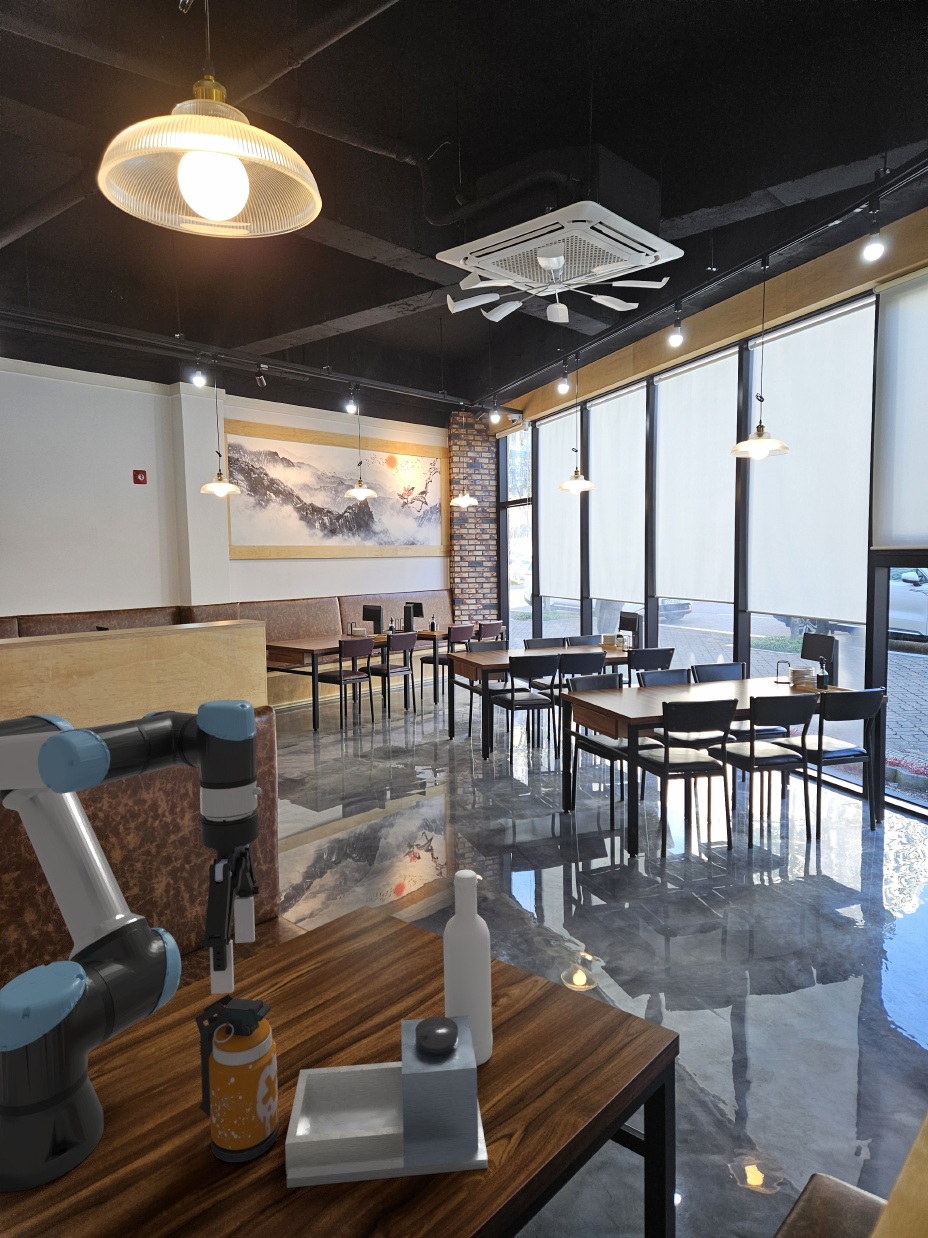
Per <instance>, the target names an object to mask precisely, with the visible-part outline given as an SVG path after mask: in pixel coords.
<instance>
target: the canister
mask: <svg viewBox="0 0 928 1238" xmlns="http://www.w3.org/2000/svg"><path fill="white" fill-rule="evenodd" d="M271 1007H272V1006H270V1005H269V1004H267V1003H265V1004H264V1001H263V999H258V998H257V999H256V1000H253V999H244V998H236V997H233V996H231V995H230V993H229V994H226V995H224V996H223V997H221V998H219V999H218V1000H216V1001H215V1002H213V1003H211V1004H209V1005H208V1006H205V1007H204V1008H203V1013H201V1014H199V1015H197V1016H195V1017H194V1021H195V1023H196V1026H197V1029H198V1032H199V1035H200V1036H199V1037H200V1039H199V1040H200V1041H199V1052H200V1053H199V1054H200V1066H201V1067H200V1069H201V1070H200V1071H201V1072H200V1074H201V1075H200V1076H201V1103H200V1104H199V1106H198V1108H199V1109H200V1110H201V1111H203V1112H204V1113H205V1114H206V1115H207V1116H208V1117H210V1143H211V1144H210V1148H211V1151H212V1153H213V1154H214V1156H215V1157H216V1158H218V1159H219V1160H221V1161H223V1162H230V1163H240V1162H245V1161H248V1160H252V1159H255V1158H257V1157H259V1156H261V1155H262V1154H263V1153H265V1152H266V1151H268V1149H270V1148H271V1146H273V1145H274V1142H276V1140H277V1138H278V1134H279V1102H278V1100H279V1099H278V1097H279V1096H278V1095H279V1094H278V1065H277V1064H278V1062H277V1043H276V1040H275V1039H274V1038H273V1032H272V1030H273V1029H272V1026H271V1025H270V1024H269V1021H268V1020H267V1019H266V1018H265V1017H266V1016H267V1014H268V1013H269V1012H271ZM206 1021H207V1023H208V1024H207V1025H206V1024H205V1022H206Z"/></svg>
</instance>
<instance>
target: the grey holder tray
mask: <svg viewBox="0 0 928 1238" xmlns="http://www.w3.org/2000/svg"><path fill="white" fill-rule="evenodd" d="M400 1022H401V1023H400V1024H401V1033H400V1034H401V1036H400V1037H401V1061H392V1062H391V1061H390V1062H389V1061H388V1062H381V1063H380V1062H378V1063H367V1064H365V1063H364V1064H356V1065H343V1066H330V1067H320V1068H319V1067H318V1068H306V1069H300V1070H299V1075H298V1080H297V1084H296V1088H295V1089H296V1090H295V1094H294V1099H293V1105H292V1109H291V1115H290V1118H289V1124H288V1129H287V1133H286V1139H285V1144H284V1145H285V1147H284V1148H285V1175H286V1188H287V1189H288V1188H289V1189H291V1188H300V1187H307V1186H308V1187H309V1186H319V1185H321V1186H322V1185H331V1184H339V1183H349V1182H351V1183H352V1182H361V1181H369V1180H370V1181H373V1180H380V1179H381V1180H382V1179H389V1178H390V1179H391V1178H402V1177H409V1176H410V1177H411V1176H420V1175H421V1176H423V1175H431V1174H441V1173H442V1174H443V1173H450V1172H451V1173H452V1172H461V1171H474V1170H481V1169H488V1168H489V1160H488V1152H487V1147H486V1141H485V1136H484V1128H483V1121H482V1115H481V1111H480V1110H481V1109H480V1105H479V1099H478V1097H479V1096H478V1070H477V1069H478V1068H477V1067H478V1066H476V1060H475V1055H474V1049H473V1043H472V1037H471V1032H470V1026H469V1020H468V1015H467V1016H454V1017H445V1016H431V1017H426V1018H417V1019H406V1020H405V1019H403V1020H402V1019H401V1021H400Z"/></svg>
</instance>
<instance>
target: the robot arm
mask: <svg viewBox="0 0 928 1238" xmlns="http://www.w3.org/2000/svg"><path fill="white" fill-rule="evenodd" d="M257 730H258V729H257V727H256V717H255V709H254V706H253V704H252V703H251V702H250V701H248V700H244V699H220V700H211V701H206V702H203V703H202V704H200V705H199V706H198V708H197V713H194V712H193V713H192V712H183V711H181V712H180V711H175V710H170V709H169V710H165V711H164V710H161V711H153V712H149V713H146V714H145V715H144V716H143V717H141V718H136V719H131V720H126V721H122V722H117V723H116V722H115V723H111V724H109V723H108V724H104V725H98V726H91V727H90V726H89V727H83V728H82V727H81V728H75V727H74V726H73V725H72V723H70V722H69V721H68V720H67V719H66V718H63V717H62V716H59V715H56V714H30V715H25V716H22V717H18V718H11V719H10V718H9V719H4V720H0V801H1V804H2V806H3V807H4V809H8V810H12V811H16V812H18V815H19V817H20V819H21V822H22V825H23V826H24V829H25V831H26V834H27V836H28V839H29V841H30V843H31V845H32V847H33V850H34V853H35V854H36V857H37V859H38V862H39V864H40V866H41V868H42V871H43V873H44V876H45V878H46V881H47V883H48V885H49V887H50V889H51V892H52V895H53V897H54V899H55V902H56V903H57V906H58V908H59V910H60V913H61V915H62V918H63V920H64V923H65V924H66V927H67V930H68V932H69V934H70V936H71V939H72V941H73V948H72V950H71V952H70V955H69V957H68V960H60V961H53V962H51V963H50V964H48V965H44V964H42V965H38V966H36V967H34V968H31V969H29V970H27V971H25V972H23V973H21V974H19V975H17V976H16V977H14V978H13V979H12V980H10V981H9V982H8V983H6V984H5V985H4V986H3V987H2V988H1V989H0V1192H2V1193H4V1192H5V1193H12V1192H20V1191H25V1190H29V1189H33V1188H36V1187H38V1186H42V1185H45V1184H47V1183H50V1182H52V1181H53V1180H55V1179H58V1178H59V1177H61V1176H63V1175H65V1174H67V1173H68V1172H70V1171H71V1170H73V1169H74V1168H76V1167H77V1166H78V1165H80V1164H81V1163H82V1162H83V1161H84V1160H85V1159H86V1158H88V1157H89V1156H90V1154H91V1153H92V1152H93V1151H94V1150H95V1148H97V1146H98V1144H99V1142H100V1141H101V1138H102V1136H103V1133H104V1124H105V1121H104V1109H103V1107H102V1104H101V1102H100V1100H99V1098H98V1095H97V1093H96V1091H95V1088H94V1086H93V1084H92V1082H91V1080H90V1077H89V1067H88V1066H89V1065H88V1064H89V1063H88V1062H89V1061H88V1054H89V1053H90V1051H92V1050H94V1049H95V1048H97V1047H99V1046H100V1045H101V1044H103V1043H105V1042H107V1041H109V1040H110V1039H112V1038H114V1037H115V1036H117V1035H119V1034H120V1033H122V1032H124V1031H125V1030H126V1029H127V1030H128V1029H129V1028H130V1027H132V1026H133V1025H135V1024H137V1023H138V1022H140V1021H141V1020H144V1019H146V1018H148V1017H150V1016H152V1015H153V1014H154V1013H156V1011H157V1010H159V1009H160V1008H162V1007H163V1006H164V1005H166V1004H168V1003H169V1002H170V1000H172V998H173V997H174V996H175V994H176V992H177V990H178V989H179V986H180V977H181V974H182V960H181V953H180V950H179V947H178V943H177V942H176V940H175V938H174V937H173V935H172V934H171V933H170V932H169V931H166V929H165V928H162V927H150V925H149V923H148V921H147V918H146V917H145V916H144V915H139V914H136V913H133V912H131V910H130V908H129V906H128V903H127V901H126V898H125V897H124V894H123V892H122V890H121V888H120V886H119V883H118V881H117V879H116V877H115V875H114V873H113V870H112V869H111V866H110V864H109V862H108V860H107V857H106V855H105V853H104V851H103V849H102V847H101V845H100V842H99V840H98V838H97V837H98V836H96V833H95V831H94V829H93V827H92V824H91V823H90V821H89V818H88V816H87V813H86V812H85V810H84V807H83V805H82V803H81V800H80V798H79V797H78V794H77V792H83V791H88V790H91V789H93V788H96V787H98V786H103V785H107V784H109V783H114V782H117V781H120V780H124V779H125V780H126V779H127V778H134V777H137V776H142V775H145V774H150V773H153V772H158V771H162V770H164V769H169V768H173V767H185V768H186V767H188V768H193V769H194V768H196V769H199V798H200V799H199V804H200V806H199V807H200V808H199V809H200V814H201V815H202V816H203V817H202V818H201V820H200V826H201V827H200V829H201V831H200V832H201V843H202V844H203V846H204V847H206V848H208V849H213V850H215V851H216V858H214V859H213V863H211V864H209V867H208V874H209V877H208V879H209V880H208V881H209V883H208V884H209V885H208V895H207V896H208V898H207V906H206V907H207V908H206V921H205V934H204V939H202V941H201V946H202V947H204V948H207V949H208V948H209V963H210V964H209V968H210V994H211V995H213V994H214V995H215V994H227V993H229V994H230V993H233V992H234V990H235V980H234V979H235V978H234V977H235V976H234V974H235V973H234V971H235V970H234V945H233V941H235V942H234V943H235V944H240V943H241V944H245V943H254V942H255V941H256V936H255V934H256V933H255V931H256V929H255V925H256V924H255V904H254V903H255V901H254V900H255V899H254V896H256V895H259V894H260V886H256V884H257V881H258V880H257V875H256V870H255V865H254V859H253V853H252V847H251V846H252V845H251V844H252V843H253V842H255V841H256V840H257V839H258V838H259V835H260V833H259V832H260V831H259V830H260V829H259V825H260V824H259V812H257V810H256V809H257V808H258V795H260V794H262V792H263V791H262V788H261V787H259V786H258V787H257V784H258V782H257V779H258V774H257V732H258V731H257ZM236 896H237V897H236ZM233 917H234V940H233V939H231V934H232V933H231V932H232V925H233V924H232V923H233Z"/></svg>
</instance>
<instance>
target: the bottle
mask: <svg viewBox="0 0 928 1238" xmlns="http://www.w3.org/2000/svg"><path fill="white" fill-rule="evenodd" d="M453 886H454V905H455V906H454V907H455V908H454V911H455V914H454V915H453V916H452V917H451V918H449V919H448V921H447V922H446V925H445V928H444V931H443V938H442V939H443V941H442V942H443V975H444V976H443V977H444V978H443V980H444V981H443V983H444V984H443V985H444V987H443V988H444V1017H454V1016H467V1015H468V1020H469V1026H470V1032H471V1037H472V1043H473V1049H474V1055H475V1060H476V1066H477V1067H478V1066H481V1065H482V1064H485V1063H486V1062H487V1061H489V1060H490V1059H491V1057H492V1054H493V1046H494V1045H493V1044H494V1040H493V1039H494V1038H493V1022H492V1020H493V1019H492V1016H493V1015H492V971H491V970H492V969H491V967H492V966H491V965H492V964H491V961H492V960H491V934H490V931H489V930H490V929H489V928H488V924H487V921H486V920H484V919H483V918H482V916H480V915H479V914H478V900H477V898H478V897H477V896H478V895H477V894H478V893H477V892H478V891H477V890H478V889H477V886H478V878H477V873H476V872H475V871H474V870H471V869H461V870H458V871H456V872H455V873H454V880H453Z"/></svg>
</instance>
